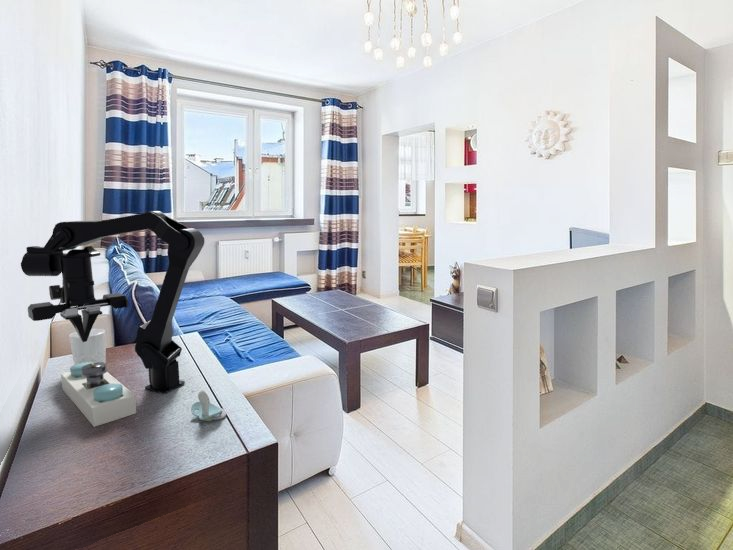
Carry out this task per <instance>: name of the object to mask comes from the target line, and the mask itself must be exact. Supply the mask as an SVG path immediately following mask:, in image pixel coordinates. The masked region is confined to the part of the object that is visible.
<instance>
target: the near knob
mask: <svg viewBox="0 0 733 550" xmlns="http://www.w3.org/2000/svg"><path fill="white" fill-rule="evenodd" d="M121 384H122V383H121ZM121 384H107V385H103V386H100V387H97V388H96V389H94V391H93V395H94V400H95V401H98V402H100V403H102V402H105V401H111V400H114V399H117V398H119V397H121V396H122V395H123V387H122V385H123V384H122V385H121Z"/></svg>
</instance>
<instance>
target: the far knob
mask: <svg viewBox="0 0 733 550" xmlns="http://www.w3.org/2000/svg"><path fill="white" fill-rule="evenodd" d="M90 363H95V362H85V363H79V364H76V365H75V364H74V365H72V366H70V368H69V371H70V372H71V376H73V377H76V378H77V377H82V369H81V368H82V367H83V366H85V365H87V364H90Z"/></svg>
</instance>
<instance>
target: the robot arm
mask: <svg viewBox="0 0 733 550" xmlns="http://www.w3.org/2000/svg"><path fill="white" fill-rule="evenodd" d="M146 230H150V231H152V233H153V234H155V235H156V236H157V237H158V238H159V239H160V240H161V241H162V242H163V243H166V244H167V245H168V246H167V259H168V260H167V261H168V266H167V269H166V272H165V275H164V278H163V282H162V284H161V287H160V291H159V293H158V297H157V300H156V304H155V305H154V309H153V312H152V315H151V319H150V320H148V321H147V322H145V323H144V324H141V325H140V326H138V328H137V332H136V337H135V339H134V341H133V342H132V344H135V345H134V352H135V353H136V354H137V356H138V357H139V358H140V359H141V362H142V364H143V365H144V368H145V369H147V371H148V381H149V384H147V385H145V386H144V389H145V390H148V391H152V392H156V393H161V394H166V393H168V392H171V390H174V389H176V388H178V387H181V386H182V385H185V383H186V381H185V380H181V379H180V370H179V367H180V366H179V365H180V364H179V360H178V361H177V358H178V357H180V356H181V353H182V350H183V348H182V347H181V346H180V345H179V344H177V342H175V341H174V340H173V333H174V332H173V330H174V329H173V324H172V323H173V318H174V316H175V313H176V310H177V307H178V303H179V301H180V298H181V294H182V292H183V288H184V285H185V282H186V280H187V276H188V273H189V270H190V268H191V267H192V265H193V264H194V262H195V261H196V260H197V258H198V256H199V255H200V253H201V251H202V250H203V248H204V246H205V237H204V236H203V233H201V231H200V230H198V229H197V228H193V227H191V228H189V227H188V226H187V225H185V224H183V223H181V222H179V221H177V220H175V219H173V218H171V217H169V216H168V215H166V214H165V213H164V212H162V211H160V210H152V211H151V210H150V211H146V212H143V213H138V214H132V215H127V216H122V217H121V216H120V217H115V218H109V219H103V220H72V221H60V222H57V223H56V224H54V228H53V229H52V234H51V236H50V237H49V239H48V241H47V242H46V243H45V245H44V246H39V245H37V246H36V245H35V246H33V245H32V246H27V247H25V248H26V249H25V250H26V253H24V255H23V256H22V258H21V262H20V268H21V270H22V272H23V274H24V275H25V276H27V277H58V276H60V275H62V277H61V278H62V287H61V285H60V284H55V285H50V286H48V290H49V296H50V300H51V301H55V300H60V301H59V302H60V304H53V303H52V302H50V301H47V302H46V301H44V302H38V303H31V304H29V306H27V314H28V318H29V319H31V320H32V321H34V322H36V321H37V322H39V321H45V320H52V319H53V318H54V317H55V316H56V314H60V317H61V318H63V319H65V320H66V321H68V320H69V321H70V323H71V324H72V326H73V327H74V329H75V332H76V331H77V333H78V335H79V337H80V339H81V341H82V342H86V341H87V339H88V337H89V334H90V331H91V329H93V326H94V324H95V322H96V320H97V318H98V317H99V316H100V315H103V311H102V310H101V309H102V307H107V306H110V307H112V308H113V309H116V310H117V309H122V308H123V309H124V308H128V307H129V299H128V296H126V295H124V294H123V293H120V292H114V293H107V294H103V296H102V298H99V299H96V298H95V288H94V287H95V280H94V279H93V268H92V267H93V266H92V258H94V257H100V256H101V252H100V251H98V250H96V249H95V248H94V247H93V246H92V245H90V244H92V243H96V242H98V241H100V240H102V239H105V238H108V237H111V236H118V235H122V234H129V233H134V232H140V231H141V232H142V231H146ZM88 245H89V246H88ZM81 246H85V247H84V248H83V249H80V248H79V249H76V248H78V247H81ZM64 251H68V252H67V253H66V252H65V253H64ZM79 311H81V314H79Z"/></svg>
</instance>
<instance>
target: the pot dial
mask: <svg viewBox="0 0 733 550" xmlns="http://www.w3.org/2000/svg"><path fill="white" fill-rule="evenodd" d="M81 369H82V376H84V377H86V380H87V388H89V389H91V388H95V387H99V386H103V385H104V376H103V374H104V373H106V372H108V370H107V363H103V362H97V363H90V364H87V365H85V366H83V367H82V368H81Z"/></svg>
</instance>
